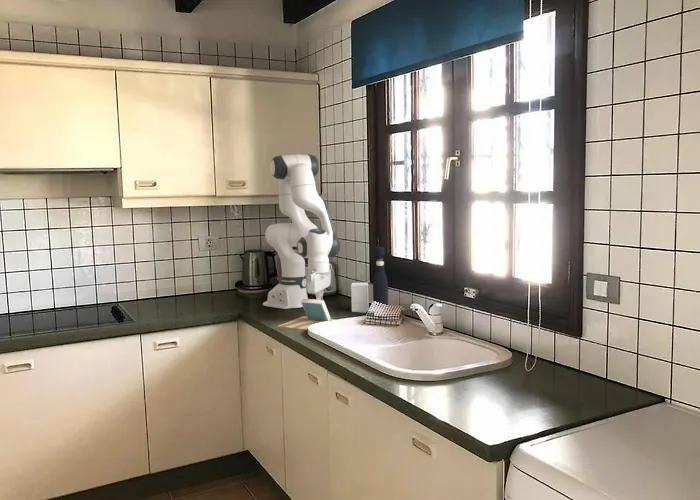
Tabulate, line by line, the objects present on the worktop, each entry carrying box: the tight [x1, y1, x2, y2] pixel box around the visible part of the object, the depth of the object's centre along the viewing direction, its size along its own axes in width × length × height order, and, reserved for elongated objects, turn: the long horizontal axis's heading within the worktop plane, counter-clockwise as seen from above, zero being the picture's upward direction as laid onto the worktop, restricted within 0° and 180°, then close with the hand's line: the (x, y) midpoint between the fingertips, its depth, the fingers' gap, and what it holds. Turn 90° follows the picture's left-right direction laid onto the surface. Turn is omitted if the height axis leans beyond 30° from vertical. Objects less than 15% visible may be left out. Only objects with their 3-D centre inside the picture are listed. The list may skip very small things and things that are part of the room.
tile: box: [301, 298, 332, 321], centre depth 269 cm, size 10×2×10 cm
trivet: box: [278, 315, 337, 330], centre depth 266 cm, size 20×20×1 cm
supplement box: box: [350, 282, 370, 314], centre depth 290 cm, size 7×7×13 cm
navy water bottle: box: [372, 246, 389, 306], centre depth 277 cm, size 6×6×30 cm
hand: (319, 300), depth 271 cm, fingers closed
